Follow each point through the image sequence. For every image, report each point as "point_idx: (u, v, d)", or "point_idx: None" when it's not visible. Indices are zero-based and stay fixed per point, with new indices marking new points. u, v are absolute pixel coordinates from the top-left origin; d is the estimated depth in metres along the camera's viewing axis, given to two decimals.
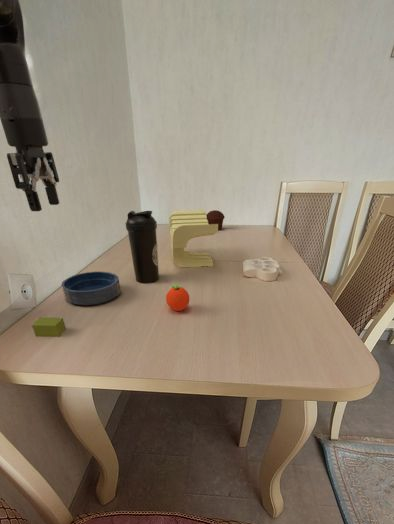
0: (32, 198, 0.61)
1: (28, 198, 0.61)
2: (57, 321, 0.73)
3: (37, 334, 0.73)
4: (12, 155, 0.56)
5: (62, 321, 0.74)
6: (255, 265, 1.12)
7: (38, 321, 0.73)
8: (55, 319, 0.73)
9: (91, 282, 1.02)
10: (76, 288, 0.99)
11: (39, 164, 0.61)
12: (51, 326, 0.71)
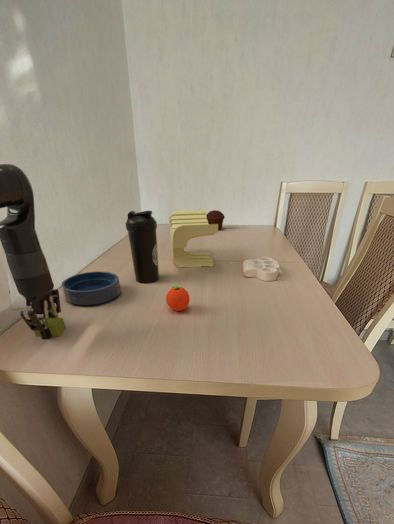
0: (45, 334, 0.71)
1: (41, 334, 0.71)
2: (57, 321, 0.73)
3: (37, 334, 0.73)
4: (25, 315, 0.64)
5: (62, 321, 0.74)
6: (255, 265, 1.12)
7: None
8: (55, 319, 0.73)
9: (91, 282, 1.02)
10: (76, 288, 0.99)
11: (46, 305, 0.68)
12: (51, 326, 0.71)
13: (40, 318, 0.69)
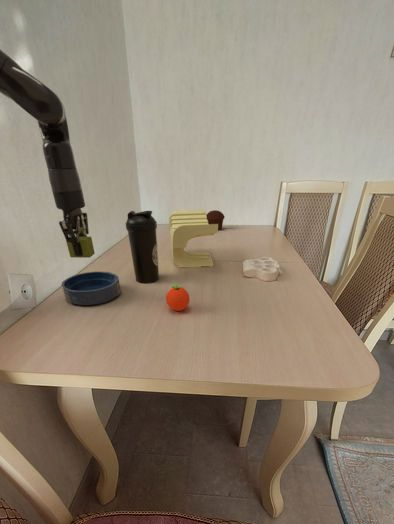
0: (77, 247, 0.84)
1: (74, 247, 0.84)
2: (86, 238, 0.86)
3: (70, 249, 0.86)
4: (63, 224, 0.77)
5: (91, 239, 0.87)
6: (255, 265, 1.12)
7: None
8: (85, 237, 0.86)
9: (91, 282, 1.02)
10: (76, 288, 0.99)
11: (78, 221, 0.81)
12: (82, 240, 0.84)
13: (73, 232, 0.82)
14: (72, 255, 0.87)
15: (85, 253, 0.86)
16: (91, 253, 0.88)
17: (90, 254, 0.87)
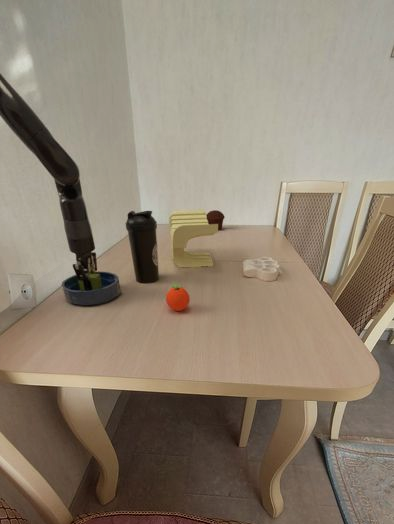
0: (87, 284, 0.95)
1: (84, 284, 0.95)
2: (96, 275, 0.96)
3: (81, 285, 0.96)
4: (76, 266, 0.88)
5: (99, 276, 0.98)
6: (255, 265, 1.12)
7: None
8: (94, 274, 0.97)
9: None
10: (76, 288, 0.99)
11: (89, 262, 0.92)
12: (92, 278, 0.95)
13: (84, 271, 0.93)
14: (82, 290, 0.97)
15: (94, 289, 0.97)
16: None
17: None
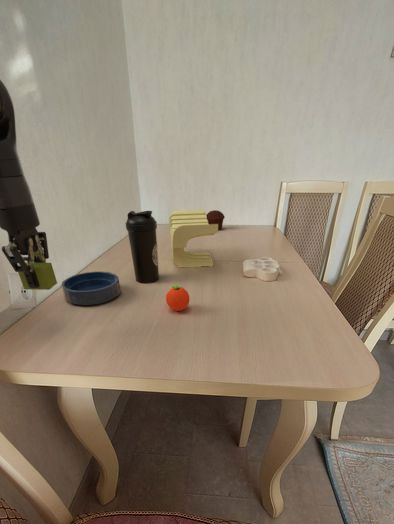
0: (30, 278, 0.65)
1: (27, 278, 0.65)
2: (44, 265, 0.66)
3: (23, 279, 0.66)
4: (7, 250, 0.58)
5: (50, 266, 0.68)
6: (255, 265, 1.12)
7: None
8: (43, 264, 0.67)
9: (91, 282, 1.02)
10: (76, 288, 0.99)
11: (31, 244, 0.62)
12: (38, 269, 0.65)
13: (25, 258, 0.63)
14: (26, 287, 0.67)
15: (43, 284, 0.67)
16: (52, 283, 0.69)
17: (50, 285, 0.68)
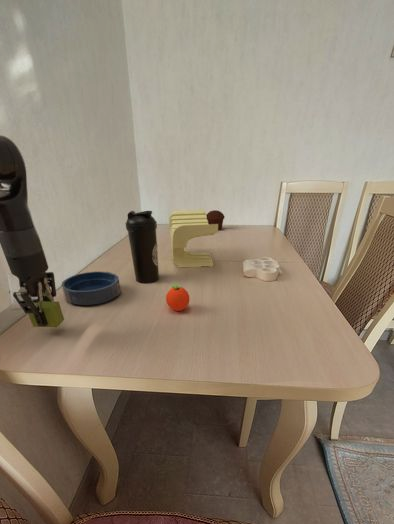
0: (39, 318, 0.68)
1: (36, 318, 0.68)
2: (52, 304, 0.70)
3: (32, 318, 0.70)
4: (18, 296, 0.62)
5: (58, 305, 0.71)
6: (255, 265, 1.12)
7: None
8: (51, 303, 0.71)
9: (91, 282, 1.02)
10: (76, 288, 0.99)
11: (40, 287, 0.66)
12: (47, 309, 0.68)
13: (34, 300, 0.66)
14: (35, 325, 0.71)
15: (51, 322, 0.70)
16: (59, 321, 0.72)
17: (57, 323, 0.71)
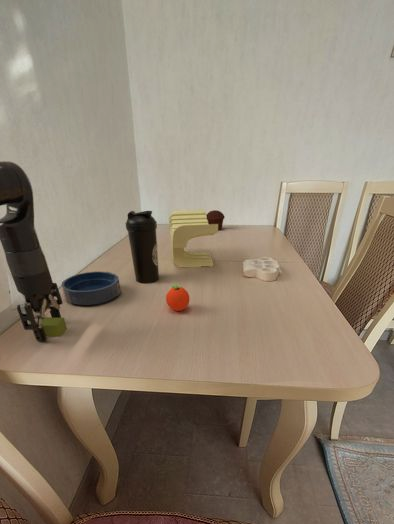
0: (39, 333, 0.69)
1: (35, 333, 0.69)
2: (58, 321, 0.73)
3: None
4: (21, 307, 0.63)
5: (63, 321, 0.74)
6: (255, 265, 1.12)
7: None
8: (56, 319, 0.73)
9: (91, 282, 1.02)
10: (76, 288, 0.99)
11: (45, 304, 0.68)
12: (52, 326, 0.71)
13: (36, 316, 0.67)
14: None
15: None
16: None
17: None
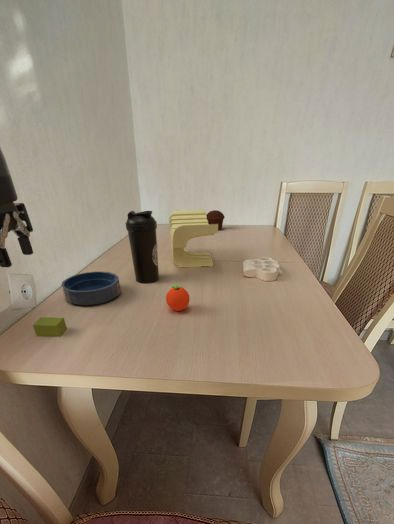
0: (1, 255, 0.58)
1: None
2: (58, 321, 0.73)
3: (38, 334, 0.73)
4: None
5: (63, 321, 0.74)
6: (255, 265, 1.12)
7: (39, 321, 0.73)
8: (56, 319, 0.73)
9: (91, 282, 1.02)
10: (76, 288, 0.99)
11: (8, 220, 0.58)
12: (52, 326, 0.71)
13: None
14: None
15: None
16: None
17: None
